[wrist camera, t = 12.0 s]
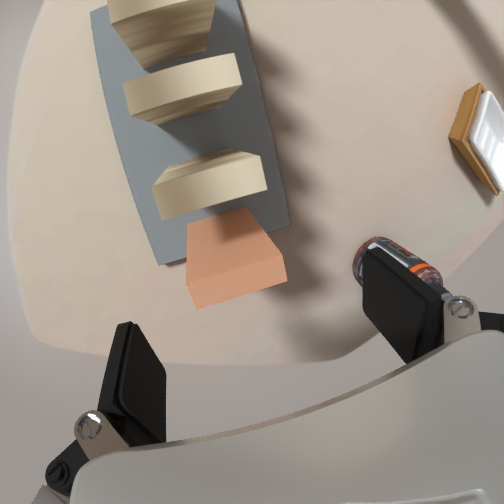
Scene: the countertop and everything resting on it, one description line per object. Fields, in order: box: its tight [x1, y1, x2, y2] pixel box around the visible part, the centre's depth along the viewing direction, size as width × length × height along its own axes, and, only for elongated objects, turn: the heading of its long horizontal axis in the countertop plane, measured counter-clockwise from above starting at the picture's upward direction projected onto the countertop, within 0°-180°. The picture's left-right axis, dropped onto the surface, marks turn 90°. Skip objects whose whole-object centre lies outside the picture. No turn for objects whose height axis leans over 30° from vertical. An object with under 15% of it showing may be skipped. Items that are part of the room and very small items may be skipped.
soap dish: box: [449, 82, 504, 196], centre depth 24 cm, size 12×10×5 cm
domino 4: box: [186, 207, 288, 309], centre depth 19 cm, size 5×2×10 cm, turn 104°
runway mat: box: [90, 0, 291, 266], centre depth 20 cm, size 12×24×1 cm, turn 13°
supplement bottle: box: [353, 237, 453, 301], centre depth 24 cm, size 6×6×11 cm
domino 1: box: [107, 0, 217, 69], centre depth 13 cm, size 5×2×10 cm, turn 103°
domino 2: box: [123, 53, 242, 125], centre depth 15 cm, size 5×2×10 cm, turn 103°
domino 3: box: [151, 148, 267, 221], centre depth 17 cm, size 5×2×10 cm, turn 103°
